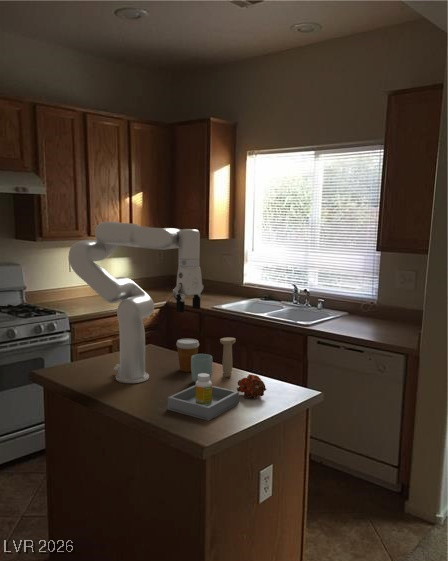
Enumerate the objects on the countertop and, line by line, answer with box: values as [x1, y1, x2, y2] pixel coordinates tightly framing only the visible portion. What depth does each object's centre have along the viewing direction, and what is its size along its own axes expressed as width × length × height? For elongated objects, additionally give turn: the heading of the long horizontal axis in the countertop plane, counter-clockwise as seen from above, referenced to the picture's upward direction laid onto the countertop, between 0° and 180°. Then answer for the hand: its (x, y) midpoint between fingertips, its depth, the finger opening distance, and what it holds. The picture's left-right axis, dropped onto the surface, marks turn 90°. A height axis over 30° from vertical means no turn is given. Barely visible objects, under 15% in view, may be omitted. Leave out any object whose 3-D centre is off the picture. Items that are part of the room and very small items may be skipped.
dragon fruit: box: [236, 373, 267, 400], centre depth 174 cm, size 8×8×12 cm
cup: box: [191, 353, 213, 383], centre depth 189 cm, size 8×8×10 cm
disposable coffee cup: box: [176, 338, 200, 373], centre depth 204 cm, size 10×10×12 cm
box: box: [167, 384, 240, 421], centre depth 164 cm, size 16×18×4 cm
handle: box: [219, 337, 237, 378], centre depth 196 cm, size 5×6×15 cm
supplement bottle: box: [195, 373, 213, 406], centre depth 164 cm, size 5×5×10 cm
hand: (188, 310), depth 182 cm, fingers open, 9 cm apart
